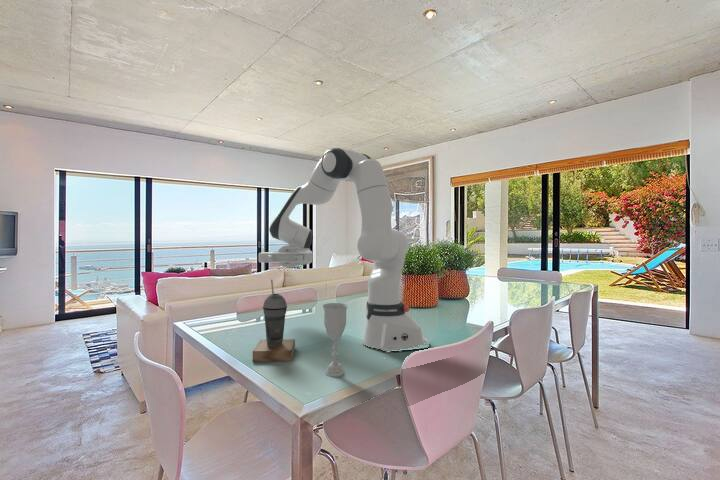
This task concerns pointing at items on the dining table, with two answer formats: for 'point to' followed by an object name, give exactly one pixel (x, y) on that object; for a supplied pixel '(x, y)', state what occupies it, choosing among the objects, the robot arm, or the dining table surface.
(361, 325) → the dining table surface
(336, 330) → the chalice
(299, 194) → the robot arm
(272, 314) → the beverage cup
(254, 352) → the walnut plinth
